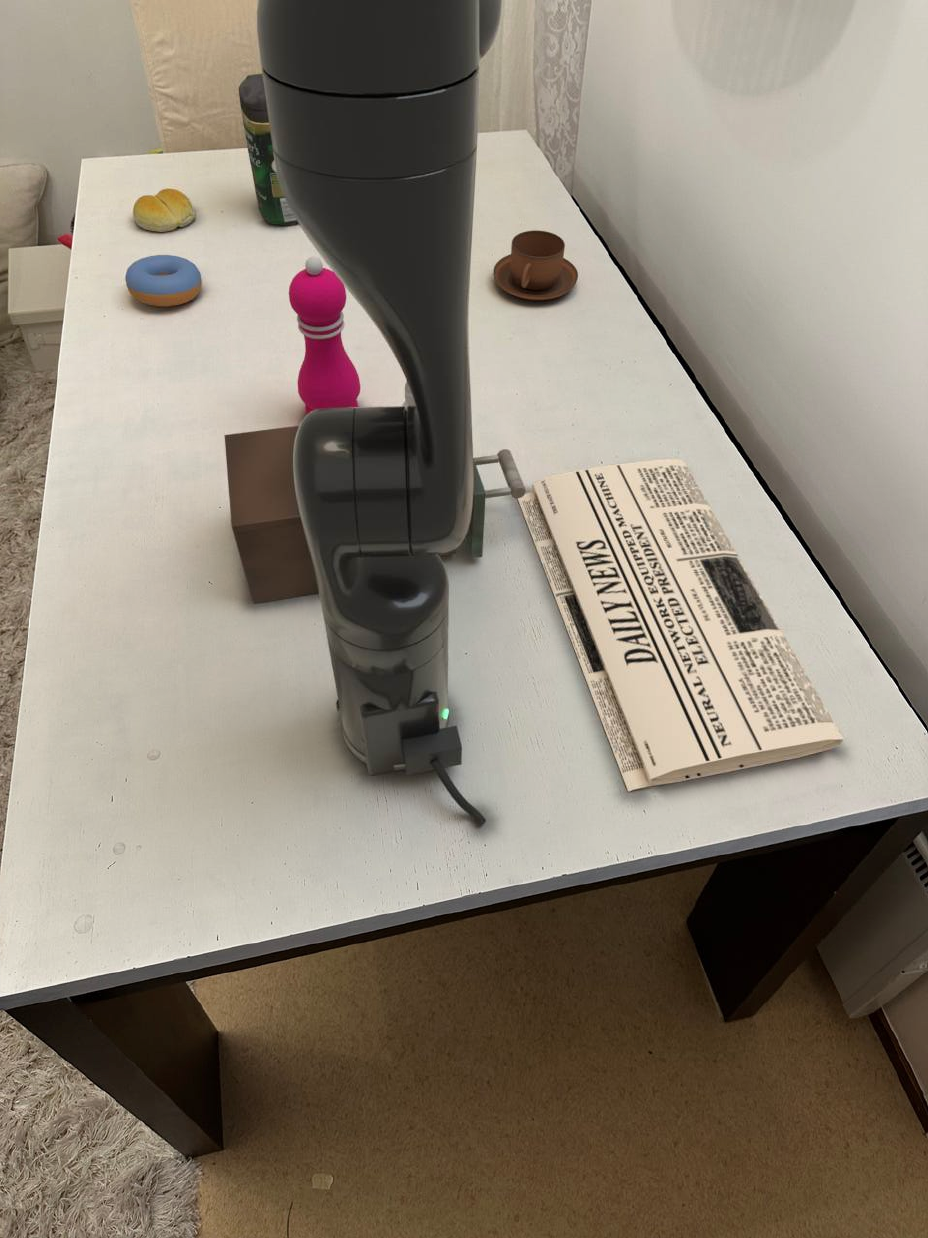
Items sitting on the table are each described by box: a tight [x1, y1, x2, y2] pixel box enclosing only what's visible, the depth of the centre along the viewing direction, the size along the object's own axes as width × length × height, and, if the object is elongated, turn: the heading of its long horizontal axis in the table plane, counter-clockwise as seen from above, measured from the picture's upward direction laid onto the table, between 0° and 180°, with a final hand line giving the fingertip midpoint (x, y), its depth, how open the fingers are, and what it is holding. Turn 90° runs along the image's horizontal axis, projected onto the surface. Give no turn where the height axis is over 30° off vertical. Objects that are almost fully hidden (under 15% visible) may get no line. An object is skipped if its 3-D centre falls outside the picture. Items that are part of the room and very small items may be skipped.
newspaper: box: [517, 458, 844, 792], centre depth 83 cm, size 37×19×3 cm, turn 13°
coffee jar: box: [238, 73, 299, 226], centre depth 125 cm, size 10×8×19 cm
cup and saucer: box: [492, 229, 579, 301], centre depth 118 cm, size 12×12×6 cm
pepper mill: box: [288, 256, 361, 416], centre depth 94 cm, size 7×7×20 cm
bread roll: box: [132, 188, 197, 233], centre depth 129 cm, size 8×9×4 cm
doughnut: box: [124, 254, 203, 307], centre depth 115 cm, size 10×10×5 cm
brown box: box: [224, 425, 319, 604], centre depth 84 cm, size 15×13×11 cm
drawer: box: [438, 448, 527, 559], centre depth 86 cm, size 19×12×9 cm, turn 103°
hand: (424, 426), depth 79 cm, fingers closed on pill bottle, 4 cm apart
